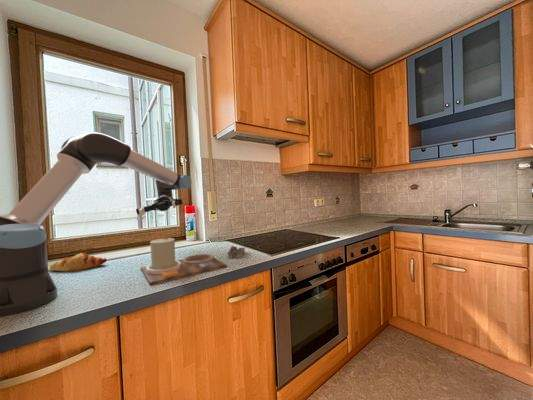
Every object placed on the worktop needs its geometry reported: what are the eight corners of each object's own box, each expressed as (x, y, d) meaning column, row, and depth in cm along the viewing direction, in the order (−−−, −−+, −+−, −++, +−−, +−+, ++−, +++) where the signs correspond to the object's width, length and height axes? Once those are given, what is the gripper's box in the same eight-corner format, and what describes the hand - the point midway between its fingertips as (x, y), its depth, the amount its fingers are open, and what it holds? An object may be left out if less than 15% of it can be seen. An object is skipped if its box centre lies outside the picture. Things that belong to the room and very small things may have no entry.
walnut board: (150, 285, 80) (149, 278, 80) (140, 269, 97) (140, 263, 97) (226, 266, 97) (226, 260, 97) (207, 256, 114) (206, 251, 114)
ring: (152, 280, 81) (152, 276, 81) (144, 268, 96) (144, 264, 96) (188, 272, 89) (188, 268, 89) (175, 261, 103) (175, 258, 103)
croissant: (46, 281, 97) (39, 267, 93) (57, 264, 105) (51, 250, 101) (105, 273, 103) (100, 260, 99) (111, 257, 111) (107, 244, 107)
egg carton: (232, 252, 120) (232, 245, 120) (246, 252, 119) (246, 245, 119) (226, 258, 110) (225, 250, 110) (241, 258, 109) (241, 250, 109)
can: (179, 264, 99) (178, 236, 99) (170, 272, 90) (169, 241, 89) (157, 265, 99) (156, 237, 99) (146, 272, 90) (145, 242, 89)
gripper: (189, 204, 125) (188, 210, 105) (140, 215, 119) (128, 224, 99) (186, 190, 124) (184, 194, 104) (135, 201, 118) (123, 207, 97)
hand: (157, 208), depth 101 cm, fingers open, 13 cm apart
